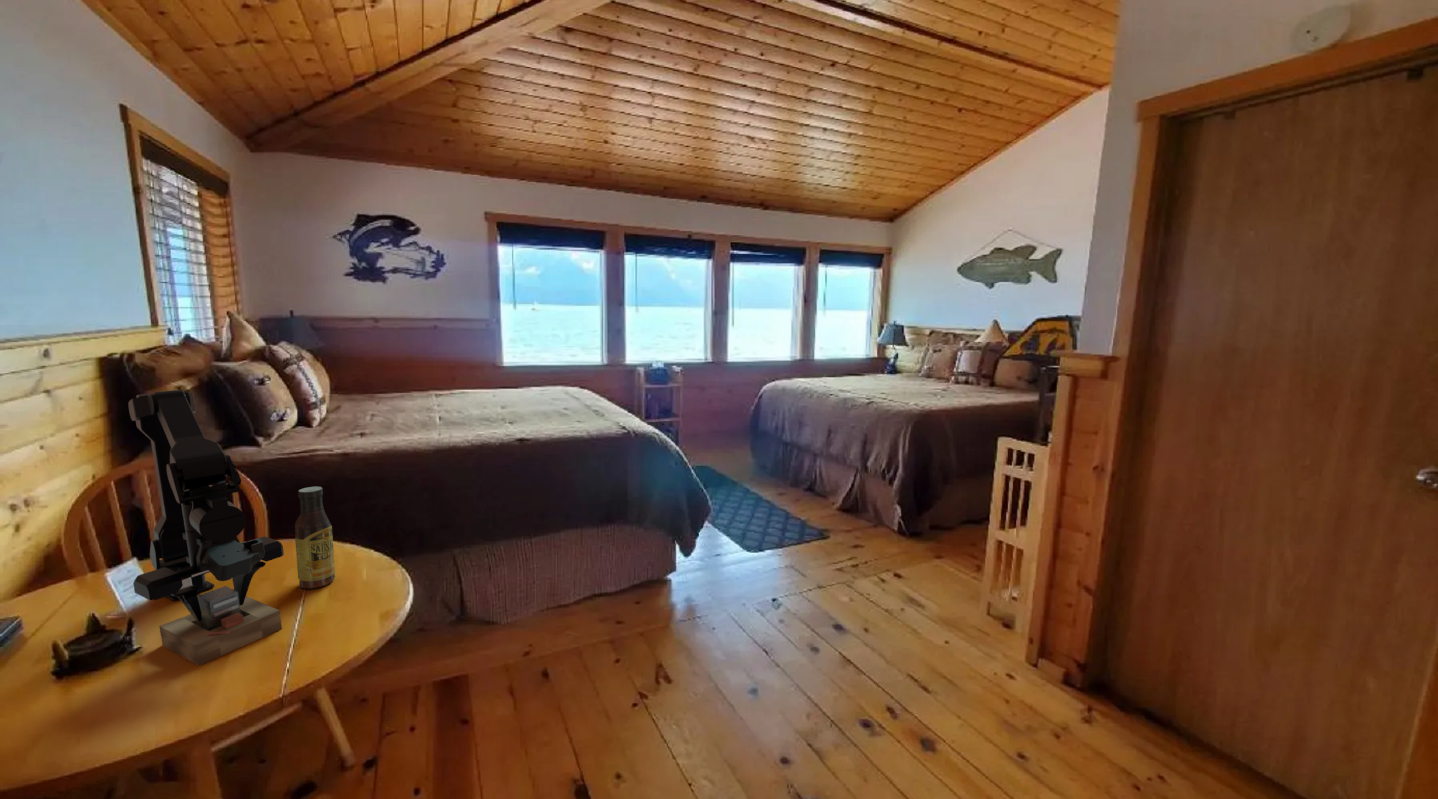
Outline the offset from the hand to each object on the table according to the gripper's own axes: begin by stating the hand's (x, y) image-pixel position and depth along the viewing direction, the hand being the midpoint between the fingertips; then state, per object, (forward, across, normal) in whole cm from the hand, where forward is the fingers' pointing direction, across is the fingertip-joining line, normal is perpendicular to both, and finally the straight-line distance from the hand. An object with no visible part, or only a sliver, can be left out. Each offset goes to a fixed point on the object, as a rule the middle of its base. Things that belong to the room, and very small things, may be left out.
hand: (220, 612), depth 101 cm
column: (+4, 0, 0) cm, 4 cm away
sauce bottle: (+5, +19, +6) cm, 20 cm away
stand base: (+4, 0, 0) cm, 4 cm away
